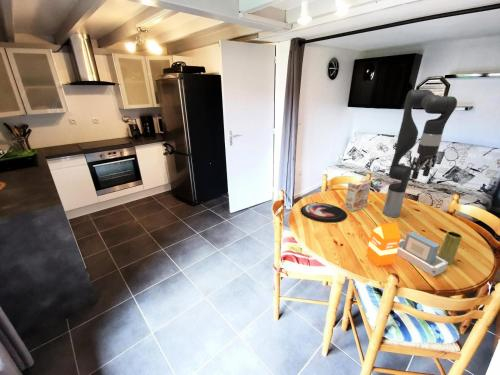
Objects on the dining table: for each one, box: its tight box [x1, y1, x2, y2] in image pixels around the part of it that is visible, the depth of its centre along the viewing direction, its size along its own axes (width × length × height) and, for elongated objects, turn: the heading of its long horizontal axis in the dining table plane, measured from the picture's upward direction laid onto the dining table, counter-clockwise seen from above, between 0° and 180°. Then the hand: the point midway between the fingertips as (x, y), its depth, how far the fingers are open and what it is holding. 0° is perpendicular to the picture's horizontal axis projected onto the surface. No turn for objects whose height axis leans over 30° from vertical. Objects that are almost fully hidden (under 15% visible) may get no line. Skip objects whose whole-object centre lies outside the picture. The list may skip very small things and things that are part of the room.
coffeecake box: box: [343, 178, 372, 213], centre depth 157 cm, size 15×7×20 cm, turn 120°
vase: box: [437, 231, 463, 265], centre depth 107 cm, size 6×6×14 cm
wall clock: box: [300, 202, 348, 223], centre depth 154 cm, size 26×5×30 cm
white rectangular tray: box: [396, 238, 449, 277], centre depth 109 cm, size 9×20×4 cm, turn 25°
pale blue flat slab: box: [403, 231, 441, 265], centre depth 107 cm, size 4×12×10 cm, turn 25°
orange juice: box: [365, 221, 402, 267], centre depth 106 cm, size 8×9×20 cm
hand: (419, 177), depth 111 cm, fingers open, 8 cm apart
